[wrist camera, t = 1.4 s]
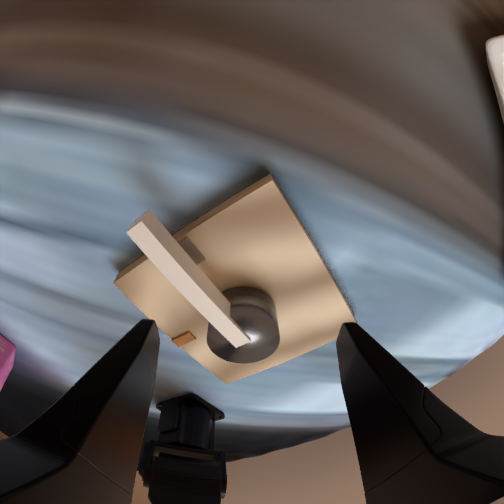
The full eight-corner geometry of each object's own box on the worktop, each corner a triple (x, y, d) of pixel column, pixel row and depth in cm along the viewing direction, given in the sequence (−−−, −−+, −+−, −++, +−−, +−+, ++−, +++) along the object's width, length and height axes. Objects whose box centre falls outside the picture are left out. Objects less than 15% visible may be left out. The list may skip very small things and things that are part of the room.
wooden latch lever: (287, 318, 23) (293, 350, 20) (234, 342, 24) (234, 374, 21) (181, 181, 17) (168, 201, 14) (123, 224, 18) (105, 249, 15)
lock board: (354, 316, 25) (359, 329, 24) (226, 372, 29) (226, 385, 27) (270, 173, 18) (272, 181, 17) (119, 272, 22) (112, 284, 21)
